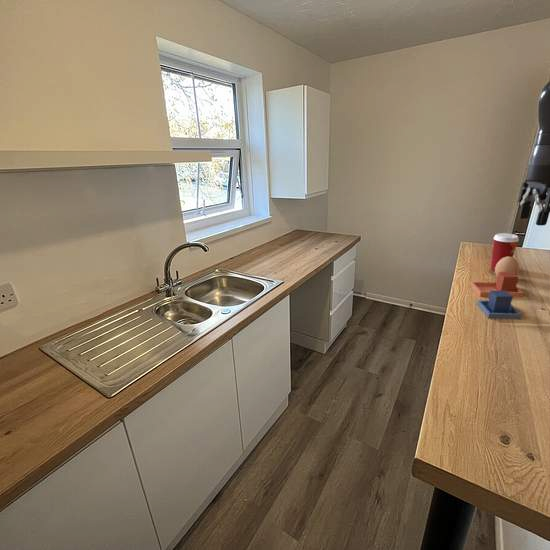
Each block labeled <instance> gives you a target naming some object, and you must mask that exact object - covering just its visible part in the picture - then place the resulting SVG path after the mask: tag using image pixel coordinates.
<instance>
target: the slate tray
mask: <svg viewBox="0 0 550 550" xmlns="http://www.w3.org/2000/svg"><path fill="white" fill-rule="evenodd" d="M476 305H477V307H478V308H479V310H480V311H481V312H482V313H483V314H484V315H485V316H486V318H487V319H496V320H497V319H498V320H521V319H522V316H523V314H522V313H521V311H519V310H518V309H517V308H516V307H515V306H514V305H513V304H511V305H510V309H509V313H491V312H490V311H489V310H488V309H487V305H488V300H483V299H482V300H480V299H479V300H478V299H477V302H476Z"/></svg>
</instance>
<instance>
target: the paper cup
mask: <svg viewBox="0 0 550 550" xmlns="http://www.w3.org/2000/svg"><path fill="white" fill-rule="evenodd" d="M519 241H520V239H519V236H518V235H517V234H514V233H505V232H502V233H496V234H495V235H494V237H493V245H492V253H491V261H490V270H491V271H493V272H495V267H496V264H497V263H498V262H499V261H500V260H501V259H502V258H504V257H513V258H514V254H515V251H516V248H517V245H518V242H519Z"/></svg>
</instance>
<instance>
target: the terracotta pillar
mask: <svg viewBox="0 0 550 550" xmlns="http://www.w3.org/2000/svg"><path fill="white" fill-rule="evenodd" d="M518 281H519V276H518V275H517V276H516V275H515V274H514V273H512V272H498V277H497V276H496V281H495V282H496V286H495V289H496V290H497V291H507V292H515V289H516V287H517V285H518Z"/></svg>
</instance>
